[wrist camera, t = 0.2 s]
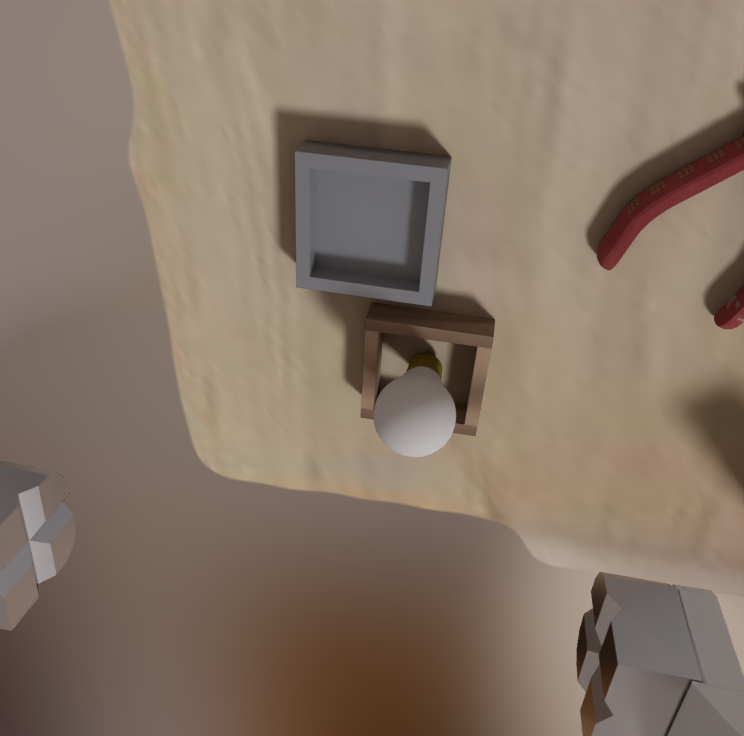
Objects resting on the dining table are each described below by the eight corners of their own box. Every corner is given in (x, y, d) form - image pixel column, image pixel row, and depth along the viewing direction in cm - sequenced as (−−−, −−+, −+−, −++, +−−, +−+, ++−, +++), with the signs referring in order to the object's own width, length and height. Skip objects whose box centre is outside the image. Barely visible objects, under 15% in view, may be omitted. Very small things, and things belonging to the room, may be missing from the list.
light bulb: (413, 317, 53) (391, 393, 45) (478, 353, 54) (468, 435, 46) (377, 369, 56) (351, 449, 48) (439, 403, 57) (424, 487, 49)
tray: (305, 140, 47) (294, 151, 45) (451, 156, 46) (447, 169, 44) (305, 272, 53) (296, 287, 51) (435, 290, 51) (431, 306, 49)
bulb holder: (372, 302, 53) (366, 318, 51) (495, 319, 52) (493, 337, 50) (366, 399, 58) (360, 417, 56) (477, 417, 57) (475, 436, 55)
